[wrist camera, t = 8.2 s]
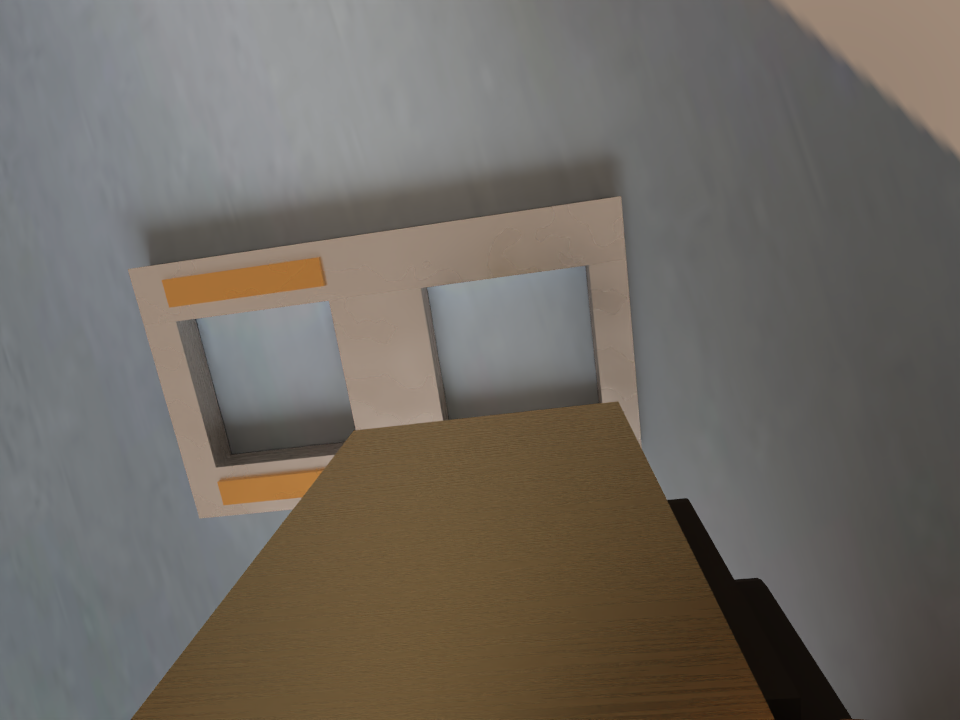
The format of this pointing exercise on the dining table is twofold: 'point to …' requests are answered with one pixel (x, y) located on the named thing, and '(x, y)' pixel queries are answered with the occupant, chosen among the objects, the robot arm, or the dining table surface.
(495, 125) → the dining table surface
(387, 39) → the dining table surface
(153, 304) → the white flat frame
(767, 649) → the robot arm
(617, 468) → the brass block
